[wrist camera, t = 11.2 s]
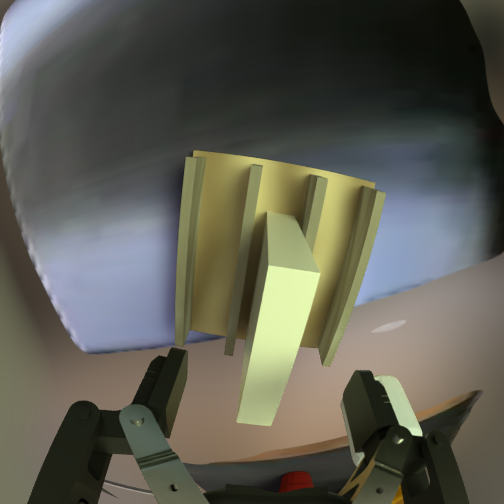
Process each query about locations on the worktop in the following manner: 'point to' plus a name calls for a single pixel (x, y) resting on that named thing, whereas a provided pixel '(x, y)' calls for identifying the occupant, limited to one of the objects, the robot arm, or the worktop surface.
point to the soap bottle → (402, 414)
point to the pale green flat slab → (276, 317)
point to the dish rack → (250, 239)
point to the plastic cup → (295, 481)
